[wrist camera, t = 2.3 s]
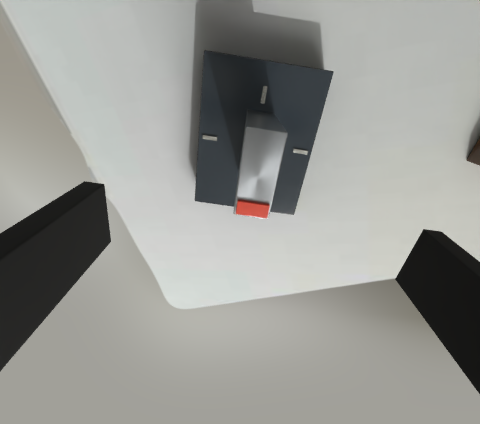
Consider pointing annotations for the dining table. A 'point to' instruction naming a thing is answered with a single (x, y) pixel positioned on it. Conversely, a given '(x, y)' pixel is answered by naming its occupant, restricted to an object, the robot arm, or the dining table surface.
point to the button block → (475, 154)
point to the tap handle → (259, 164)
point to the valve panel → (234, 118)
